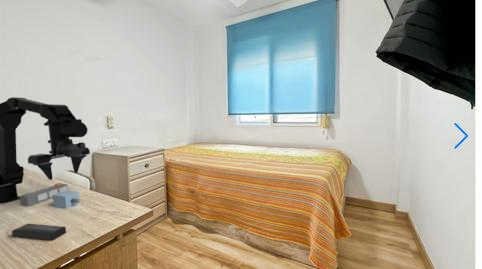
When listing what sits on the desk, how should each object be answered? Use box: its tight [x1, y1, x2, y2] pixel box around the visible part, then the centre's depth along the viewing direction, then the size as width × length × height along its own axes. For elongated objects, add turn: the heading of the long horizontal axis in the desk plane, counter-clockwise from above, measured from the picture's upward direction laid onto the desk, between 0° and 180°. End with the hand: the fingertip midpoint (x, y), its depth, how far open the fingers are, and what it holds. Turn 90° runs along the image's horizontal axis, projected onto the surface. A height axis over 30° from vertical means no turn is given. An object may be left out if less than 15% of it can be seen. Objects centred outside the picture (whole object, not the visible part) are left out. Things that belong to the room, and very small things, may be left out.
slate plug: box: [52, 190, 80, 210], centre depth 85 cm, size 12×5×5 cm, turn 73°
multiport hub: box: [11, 223, 67, 242], centre depth 65 cm, size 4×14×2 cm, turn 80°
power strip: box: [20, 182, 69, 207], centre depth 92 cm, size 4×15×5 cm, turn 163°
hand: (64, 176), depth 84 cm, fingers open, 9 cm apart
